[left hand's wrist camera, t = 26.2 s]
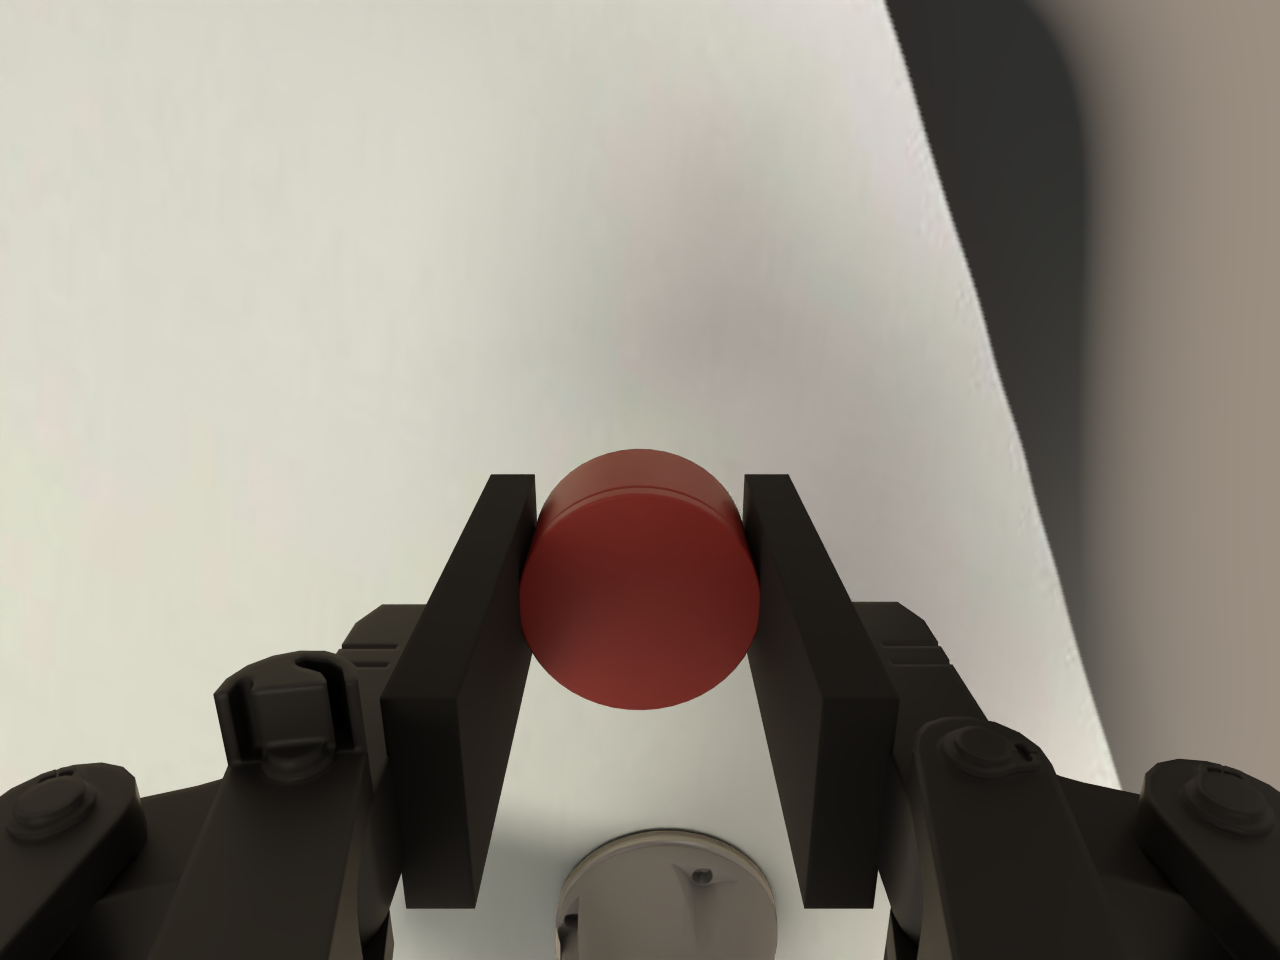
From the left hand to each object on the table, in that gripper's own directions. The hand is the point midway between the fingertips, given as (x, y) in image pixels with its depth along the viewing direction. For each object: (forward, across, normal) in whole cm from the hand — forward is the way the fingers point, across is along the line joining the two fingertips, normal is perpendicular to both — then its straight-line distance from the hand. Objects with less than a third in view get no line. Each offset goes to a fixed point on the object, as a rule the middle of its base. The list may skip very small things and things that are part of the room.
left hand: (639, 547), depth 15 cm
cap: (-2, 0, 0) cm, 2 cm away
